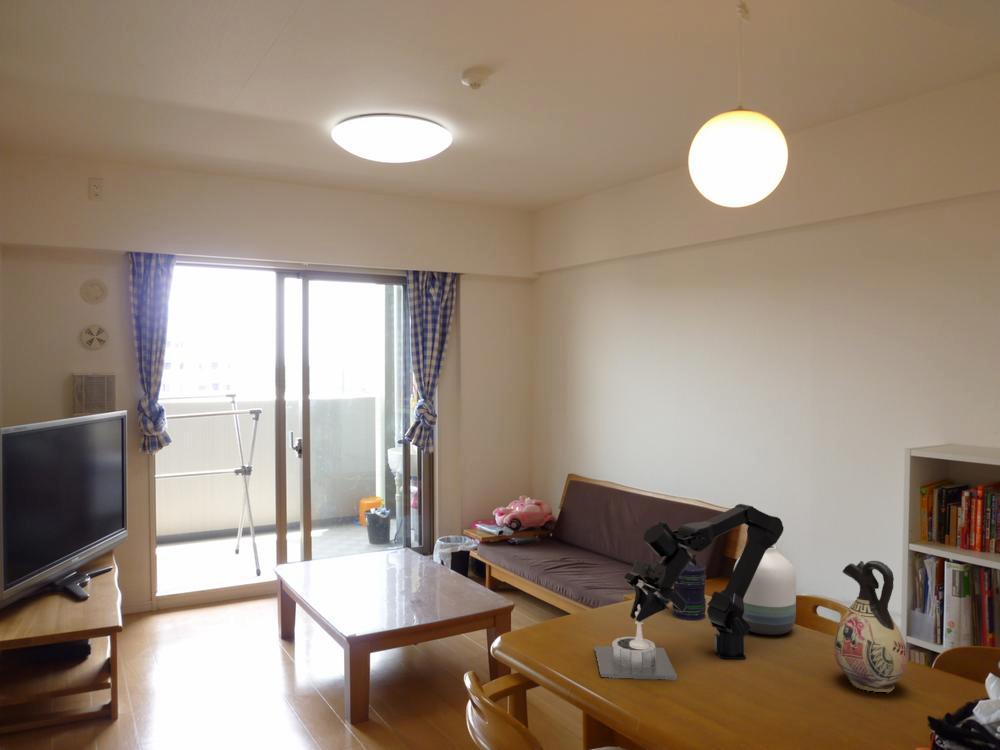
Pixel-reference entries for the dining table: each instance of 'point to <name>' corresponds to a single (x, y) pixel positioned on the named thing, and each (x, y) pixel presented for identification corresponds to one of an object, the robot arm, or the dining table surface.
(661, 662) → the duct collar
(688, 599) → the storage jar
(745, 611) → the vase
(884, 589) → the ceramic jug
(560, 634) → the dining table surface
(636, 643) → the chess piece
